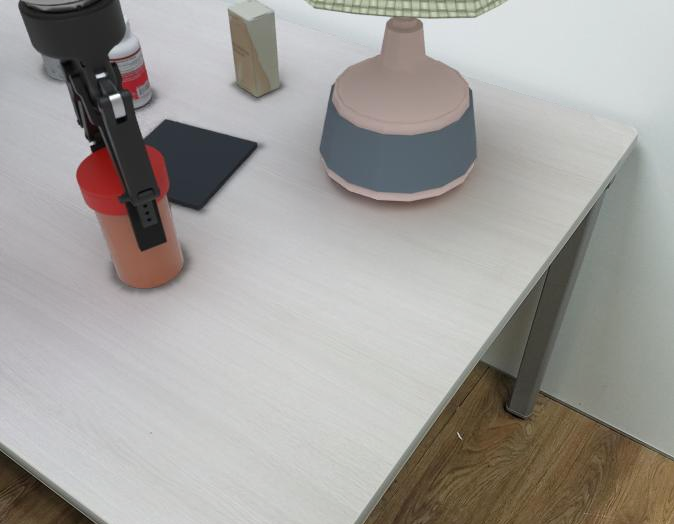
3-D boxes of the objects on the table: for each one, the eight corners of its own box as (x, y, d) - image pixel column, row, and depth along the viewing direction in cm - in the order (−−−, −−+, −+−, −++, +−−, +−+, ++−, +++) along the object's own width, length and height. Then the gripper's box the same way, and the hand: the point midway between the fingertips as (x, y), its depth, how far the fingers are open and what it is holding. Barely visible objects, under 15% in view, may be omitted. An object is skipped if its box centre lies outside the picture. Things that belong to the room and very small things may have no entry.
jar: (103, 277, 75) (67, 185, 66) (142, 235, 79) (114, 144, 70) (159, 296, 73) (131, 204, 64) (196, 253, 77) (174, 161, 68)
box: (235, 84, 100) (224, 6, 91) (260, 73, 102) (251, -4, 93) (257, 99, 97) (248, 19, 89) (282, 87, 99) (275, 9, 91)
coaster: (102, 181, 86) (101, 177, 85) (166, 122, 94) (165, 118, 93) (199, 210, 82) (198, 206, 81) (257, 146, 90) (257, 142, 89)
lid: (74, 217, 65) (65, 196, 64) (92, 164, 71) (85, 143, 69) (163, 214, 65) (157, 193, 64) (174, 161, 71) (170, 141, 69)
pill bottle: (107, 91, 99) (84, 13, 91) (150, 84, 100) (131, 6, 92) (109, 114, 95) (85, 35, 87) (154, 107, 96) (135, 28, 88)
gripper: (163, 31, 49) (214, 266, 66) (71, -64, 61) (134, 156, 78) (58, 61, 47) (139, 297, 64) (-17, -44, 59) (68, 178, 76)
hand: (136, 219), depth 71 cm, fingers closed on lid, 8 cm apart
